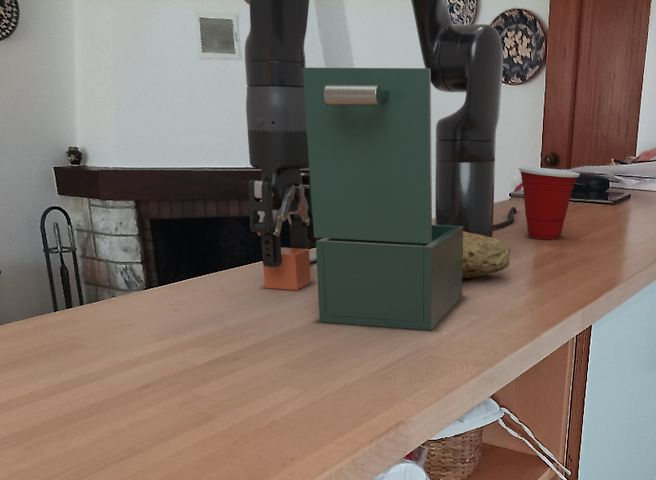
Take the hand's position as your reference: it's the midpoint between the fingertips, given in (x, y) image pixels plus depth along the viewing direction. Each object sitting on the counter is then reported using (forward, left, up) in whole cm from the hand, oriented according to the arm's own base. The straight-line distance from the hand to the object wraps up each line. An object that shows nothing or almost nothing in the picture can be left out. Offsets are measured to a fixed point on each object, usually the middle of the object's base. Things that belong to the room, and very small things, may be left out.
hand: (286, 260), depth 100 cm
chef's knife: (-17, -4, -3) cm, 17 cm away
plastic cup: (-50, +28, -4) cm, 58 cm away
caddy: (+8, +17, -3) cm, 19 cm away
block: (0, 0, -3) cm, 3 cm away
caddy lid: (+15, +17, +14) cm, 27 cm away
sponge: (-11, +17, -4) cm, 21 cm away
